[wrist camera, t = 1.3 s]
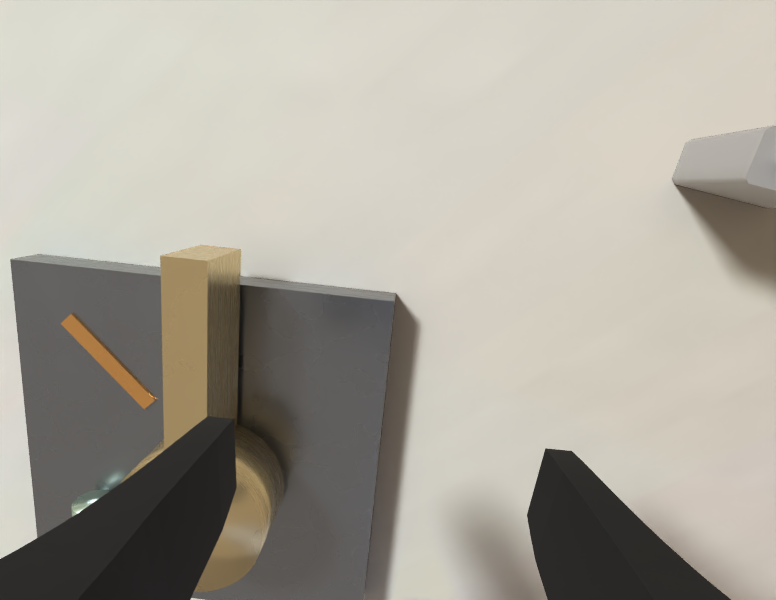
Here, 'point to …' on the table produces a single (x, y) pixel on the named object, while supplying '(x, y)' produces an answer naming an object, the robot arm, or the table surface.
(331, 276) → the table surface
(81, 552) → the robot arm
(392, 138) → the table surface
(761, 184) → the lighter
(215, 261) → the gold elongated piece
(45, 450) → the base plate
